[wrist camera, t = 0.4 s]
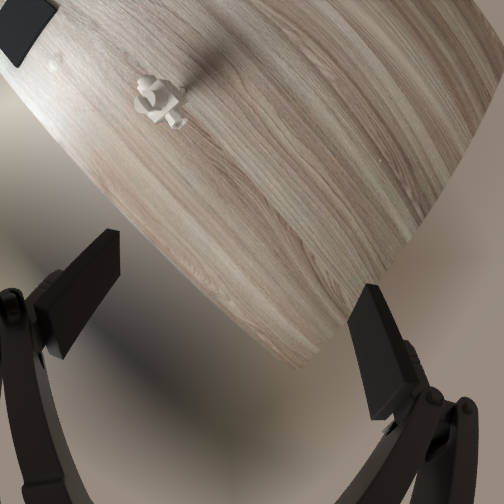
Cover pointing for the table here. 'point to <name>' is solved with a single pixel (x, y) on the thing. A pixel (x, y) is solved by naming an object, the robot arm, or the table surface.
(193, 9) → the table surface
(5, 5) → the mat
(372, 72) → the table surface
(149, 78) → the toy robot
